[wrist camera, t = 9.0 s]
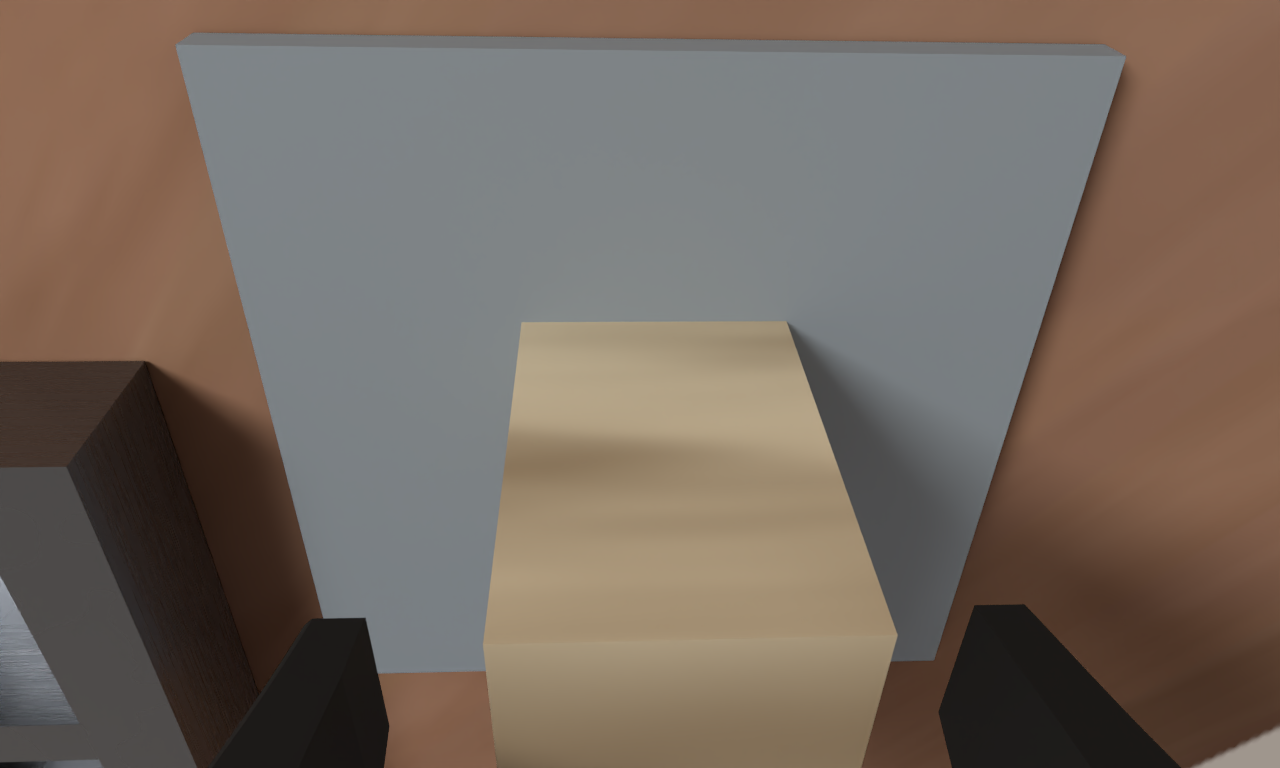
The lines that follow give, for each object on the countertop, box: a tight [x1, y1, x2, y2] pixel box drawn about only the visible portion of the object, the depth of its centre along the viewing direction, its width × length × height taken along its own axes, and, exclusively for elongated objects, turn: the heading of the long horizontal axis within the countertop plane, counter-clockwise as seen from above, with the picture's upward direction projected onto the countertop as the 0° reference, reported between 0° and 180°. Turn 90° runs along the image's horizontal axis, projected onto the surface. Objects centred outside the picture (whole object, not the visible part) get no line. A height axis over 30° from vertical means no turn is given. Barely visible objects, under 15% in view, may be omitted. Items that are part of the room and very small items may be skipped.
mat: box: [176, 33, 1126, 673], centre depth 15 cm, size 12×12×1 cm
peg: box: [483, 321, 898, 768], centre depth 12 cm, size 4×4×6 cm
